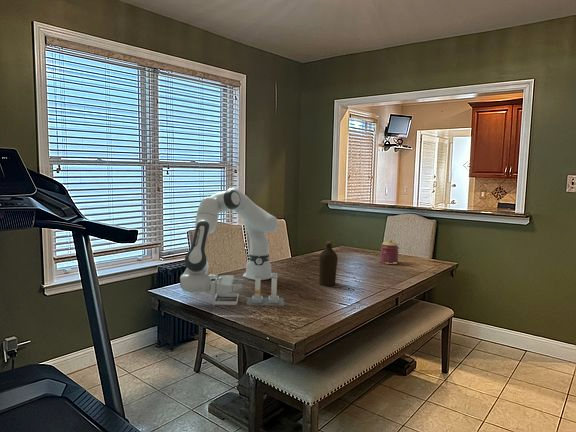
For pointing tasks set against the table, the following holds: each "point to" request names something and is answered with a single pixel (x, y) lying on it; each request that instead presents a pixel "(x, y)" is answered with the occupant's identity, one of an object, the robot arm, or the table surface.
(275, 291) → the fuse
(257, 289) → the cylinder
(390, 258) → the canister
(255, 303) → the fuse board
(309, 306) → the table surface
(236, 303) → the tray
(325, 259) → the olive oil
